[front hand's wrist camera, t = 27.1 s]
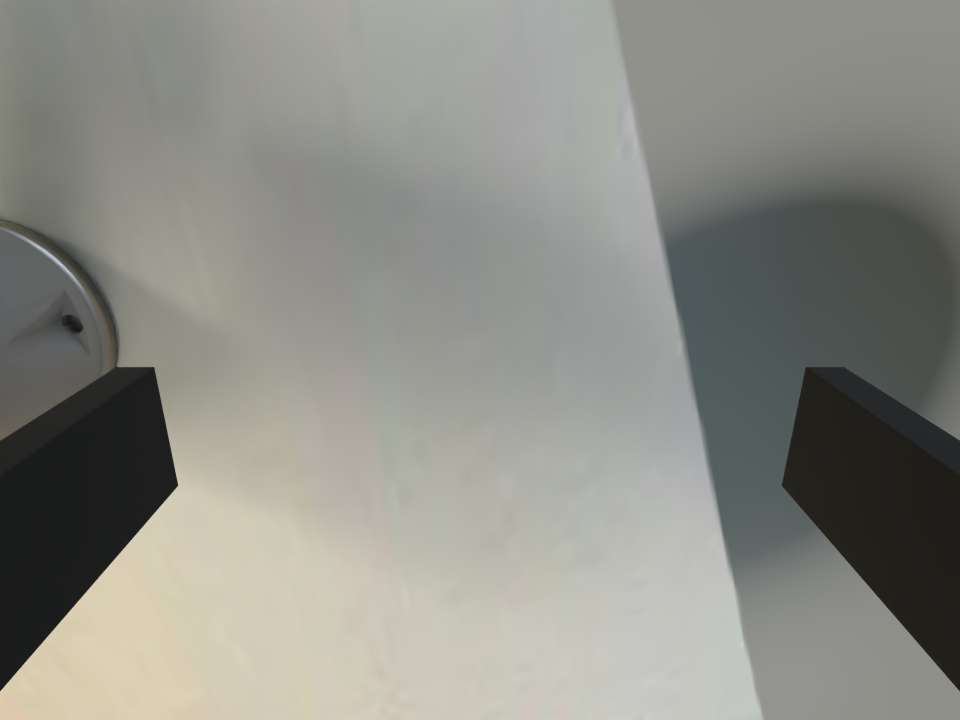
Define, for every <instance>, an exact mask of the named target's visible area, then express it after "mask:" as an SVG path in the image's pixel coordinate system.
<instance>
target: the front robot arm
mask: <svg viewBox="0 0 960 720" xmlns="http://www.w3.org/2000/svg"><path fill="white" fill-rule="evenodd" d="M115 362H116V339H115V332H114V327H113V323H112V320H111V317H110V314H109V311H108V309H107V307H106V304H105V302H104V300H103V298H102V296H101V295H100V293H99V291H98V290H97V288H96V286H95V285H94V283H93V282H92V281H91V279H90V278H89V277H88V275H87V274H86V273H85V272H84V271H83V269H82V268H81V267H80V266H79V265H78V264H77V263H76V262H75V261H74V260H73V259H72V258H71V257H70V256H69V255H67V254H66V253H65V252H64V251H63V250H61V249H60V248H59V247H58V246H56V245H55V244H53V243H52V242H50V241H49V240H47V239H46V238H44V237H42V236H40V235H39V234H37V233H35V232H33V231H31V230H29V229H27V228H25V227H22V226H19V225H17V224H14V223H11V222H8V221H4V220H0V691H1V690H2V689H3V687H4V686H5V685H6V684H7V683H8V682H9V680H10V679H11V678H12V677H13V676H14V675H15V674H16V672H17V671H18V670H19V669H20V668H21V667H22V665H23V664H24V663H25V662H26V661H27V660H28V659H29V657H30V656H31V655H32V654H33V653H34V652H35V650H36V649H37V648H38V647H39V646H40V645H41V644H42V642H43V641H44V640H45V639H46V638H47V637H48V635H49V634H50V633H51V632H52V631H53V630H54V628H55V627H56V626H57V625H58V624H59V623H60V622H61V620H62V619H63V618H64V617H65V616H66V615H67V613H68V612H69V611H70V610H71V609H72V608H73V607H74V605H75V604H76V603H77V602H78V601H79V600H80V598H81V597H82V596H83V595H84V594H85V593H86V592H87V590H88V589H89V588H90V587H91V586H92V585H93V583H94V582H95V581H96V580H97V579H98V578H99V576H100V575H101V574H102V573H103V572H104V571H105V570H106V568H107V567H108V566H109V565H110V564H111V563H112V561H113V560H114V559H115V558H116V557H117V556H118V555H119V553H120V552H121V551H122V550H123V549H124V548H125V546H126V545H127V544H128V543H129V542H130V541H131V540H132V538H133V537H134V536H135V535H136V534H137V533H138V531H139V530H140V529H141V528H142V527H143V526H144V524H145V523H146V522H147V521H148V520H149V519H150V518H151V516H152V515H153V514H154V513H155V512H156V511H157V509H158V508H159V507H160V506H161V505H162V504H163V503H164V501H165V500H166V499H167V498H168V497H169V496H170V494H171V493H172V492H173V491H174V490H175V489H176V488H177V486H178V482H177V477H176V473H175V468H174V463H173V458H172V453H171V448H170V443H169V438H168V433H167V428H166V423H165V418H164V413H163V408H162V403H161V399H160V394H159V389H158V384H157V379H156V374H155V369H154V367H116V368H114V367H115ZM782 486H783V488H784V489H785V490H786V491H787V492H788V493H789V494H790V496H791V497H792V498H793V499H794V500H795V501H796V503H797V504H798V505H799V506H800V507H801V508H802V509H803V511H804V512H805V513H806V514H807V515H808V516H809V517H810V519H811V520H812V521H813V522H814V523H815V524H816V526H817V527H818V528H819V529H820V530H821V531H822V533H823V534H824V535H825V536H826V537H827V538H828V540H829V541H830V542H831V543H832V544H833V545H834V546H835V547H836V549H837V550H838V551H839V552H840V553H841V555H842V556H843V557H844V558H845V559H846V560H847V561H848V563H849V564H850V565H851V566H852V567H853V568H854V570H855V571H856V572H857V573H858V574H859V575H860V576H861V578H862V579H863V580H864V581H865V582H866V583H867V585H868V586H869V587H870V588H871V589H872V590H873V591H874V593H875V594H876V595H877V596H878V597H879V598H880V600H881V601H882V602H883V603H884V604H885V605H886V606H887V608H888V609H889V610H890V611H891V612H892V613H893V615H894V616H895V617H896V618H897V619H898V620H899V622H900V623H901V624H902V625H903V626H904V627H905V628H906V630H907V631H908V632H909V633H910V634H911V635H912V637H913V638H914V639H915V640H916V641H917V642H918V643H919V645H920V646H921V647H922V648H923V649H924V650H925V652H926V653H927V654H928V655H929V656H930V657H931V658H932V660H933V661H934V662H935V663H936V664H937V665H938V667H939V668H940V669H941V670H942V671H943V672H944V673H945V675H946V676H947V677H948V678H949V679H950V680H951V682H952V683H953V684H954V685H955V686H956V687H957V689H958V690H959V691H960V441H959V440H958V439H956V438H955V437H953V436H952V435H950V434H948V433H947V432H945V431H944V430H942V429H941V428H939V427H937V426H936V425H934V424H933V423H931V422H929V421H928V420H926V419H925V418H923V417H922V416H920V415H918V414H917V413H915V412H914V411H912V410H911V409H909V408H907V407H906V406H904V405H903V404H901V403H899V402H898V401H896V400H895V399H893V398H892V397H890V396H888V395H887V394H885V393H884V392H882V391H881V390H879V389H877V388H876V387H874V386H873V385H871V384H869V383H868V382H866V381H865V380H863V379H862V378H860V377H858V376H857V375H855V374H854V373H852V372H851V371H849V370H847V369H846V368H844V367H806V369H805V374H804V379H803V384H802V389H801V394H800V399H799V403H798V408H797V413H796V418H795V423H794V428H793V433H792V438H791V443H790V448H789V453H788V458H787V463H786V468H785V473H784V478H783V482H782Z"/></svg>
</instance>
